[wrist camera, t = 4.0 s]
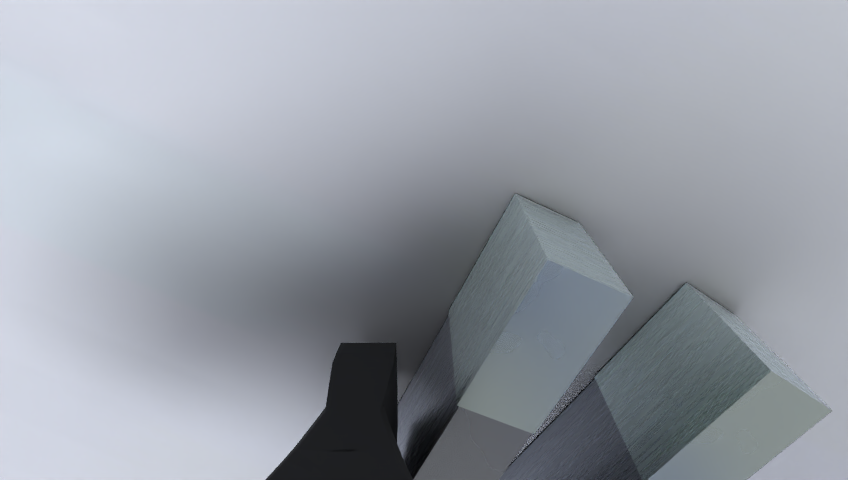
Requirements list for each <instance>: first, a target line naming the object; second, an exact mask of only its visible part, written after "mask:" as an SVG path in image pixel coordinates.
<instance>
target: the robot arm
mask: <svg viewBox="0 0 848 480" xmlns="http://www.w3.org/2000/svg"><path fill="white" fill-rule="evenodd" d="M397 432H398V401H397V357H396V343H341V344H340V347H339V349H338V351H337V353H336V356H335V358H334V361H333V364H332V370H331V376H330V383H329V389H328V396H327V403H326V407H325V409H324V410H323V412H322V413H321V414H320V416H319V417H318V418H317V420H316V421H315V422H314V423H313V425H312V426H311V427H310V429H309V430H308V431H307V432H306V434H305V435H304V436H303V437H302V439H301V440H300V441H299V443H298V444H297V445H296V446H295V447H294V449H293V450H292V451H291V452H290V453H289V454H288V456H287V457H286V458H285V459H284V460H283V461H282V462H281V463H280V465H279V466H278V467H277V468H276V469H275V470H274V471H273V472H272V473H271V474H270V475H269V476H268V478H267V479H266V480H413V478H412V476H411V474H410V472H409V470H408V468H407V466H406V464H405V461H404V459H403V457H402V455H401V452H400V450H399V447H398V445H397Z"/></svg>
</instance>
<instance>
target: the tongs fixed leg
mask: <svg viewBox="0 0 848 480" xmlns="http://www.w3.org/2000/svg"><path fill="white" fill-rule="evenodd" d="M594 378H595V379H594V380H593V381H592V382H591V383H590V384H589V385H588V386H587V387H586V388H585V390H584V391H583V392H582V393H581V394H580V395H579V396H578V397H577V398H576V399H575V400H574V401H573V402H572V403H571V404H570V405H569V406H568V407H567V408H566V409H565V410H564V411H563V412H562V413H561V414H560V415H559V416H558V417H557V418H556V419H555V420H554V421H553V422H552V423H551V424H550V425H549V426H548V427H547V428H546V429H545V430H544V431H543V432H542V433H541V435H540V436H539V437H538V438H537V439H536V440H535V441H534V442H533V443H532V444H531V445H530V446H529V447H528V448H527V449H526V450H525V451H524V452H523V453H522V454H521V455H520V456H519V457H518V458H517V459H516V460H515V461H514V462H513V463H512V464H511V465H510V466H509V467H508V468H507V469H506V470H505V472H504V473H503V475H502V476H501V477H500V479H499V480H747V479H748V478H749V477H751V476H752V475H753V474H754V473H756V472H757V471H758V470H759V469H761V468H762V467H763V466H764V465H766V464H767V463H768V462H769V461H771V460H772V459H773V458H774V457H776V456H777V455H778V454H779V453H780V452H782V451H783V450H784V449H785V448H787V447H788V446H789V445H790V444H792V443H793V442H794V441H795V440H797V439H798V438H799V437H800V436H802V435H803V434H804V433H805V432H807V431H808V430H809V429H810V428H812V427H813V426H814V425H815V424H816V423H818V422H819V421H820V420H821V419H823V418H824V417H825V416H826V415H828V414H829V413H830V412H831V411H832V410H831V409H830V408H829V407H828V406H827V405H826V404H825V403H824V402H823V401H822V400H821V399H820V398H819V397H818V396H817V395H816V394H815V393H814V392H813V391H812V390H811V389H810V388H809V387H808V386H807V385H806V384H805V383H804V382H803V381H802V380H801V379H800V378H799V377H798V376H797V375H796V374H795V373H794V372H793V371H792V370H791V369H790V368H789V367H788V366H787V365H786V364H785V363H784V362H783V361H782V360H781V359H779V358H778V357H777V356H776V355H775V354H774V353H773V352H772V351H771V350H770V349H769V348H768V347H767V346H766V345H765V344H764V343H763V342H762V341H761V340H760V339H759V338H758V337H757V336H756V335H755V334H754V333H753V332H752V331H751V330H750V329H749V328H748V327H747V326H746V325H745V324H744V323H743V322H742V321H741V320H740V319H739V318H738V317H737V316H736V315H734V314H733V313H731V312H730V311H728V310H727V309H725V308H724V307H722V306H721V305H719V304H718V303H716V302H715V301H713V300H712V299H710V298H709V297H707V296H706V295H704V294H703V293H701V292H700V291H699V290H697V289H696V288H694V287H693V286H691V285H690V284H688V283H687V282H686V283H685V284H684V285H683V286H682V287H681V288H680V290H679V291H678V292H677V293H676V294H675V295H674V296H673V297H672V298H671V299H670V300H669V301H668V302H667V303H666V304H665V305H664V306H663V307H662V308H661V309H660V310H659V311H658V312H657V313H656V314H655V315H654V316H653V317H652V318H651V319H650V320H649V321H648V322H647V323H646V324H645V325H644V326H643V327H642V328H641V329H640V331H639V332H638V333H637V334H636V335H635V336H634V337H633V338H632V339H631V340H630V341H629V342H628V343H627V344H626V345H625V346H624V347H623V348H622V349H621V350H620V351H619V352H618V353H617V354H616V355H615V356H614V357H613V358H612V359H611V360H610V361H609V362H608V363H607V364H606V365H605V366H604V367H603V368H602V369H601V371H600V372H599V373H598V374H597V375H596V376H595V377H594Z"/></svg>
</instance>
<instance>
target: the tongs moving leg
mask: <svg viewBox="0 0 848 480" xmlns="http://www.w3.org/2000/svg"><path fill="white" fill-rule="evenodd" d="M632 299H633V296H632V294H631V293H630V292H629V290H628V289H627V287H626V286H625V285H624V283H623V282H622V281H621V279H620V278H619V276H618V275H617V274H616V272H615V271H614V270H613V268H612V267H611V265H610V264H609V263H608V261H607V260H606V259H605V257H604V256H603V254H602V253H601V252H600V250H599V249H598V248H597V246H596V245H595V244H594V242H593V241H592V239H591V238H590V237H589V235H588V234H587V233H586V231H585V230H584V228H583V227H582V226H581V224H580V223H578V222H576V221H574V220H572V219H570V218H568V217H565V216H563V215H561V214H559V213H557V212H554V211H552V210H550V209H548V208H546V207H544V206H541V205H539V204H537V203H535V202H533V201H531V200H528V199H526V198H524V197H522V196H520V195H517V194H514V196H513V198H512V200H511V202H510V203H509V205H508V207H507V209H506V210H505V212H504V214H503V216H502V217H501V219H500V221H499V223H498V225H497V226H496V228H495V230H494V232H493V233H492V235H491V237H490V239H489V240H488V242H487V244H486V246H485V248H484V249H483V251H482V253H481V255H480V256H479V258H478V260H477V262H476V263H475V265H474V267H473V269H472V271H471V272H470V274H469V276H468V278H467V279H466V281H465V283H464V285H463V286H462V288H461V290H460V292H459V293H458V295H457V297H456V299H455V301H454V302H453V304H452V306H451V308H450V309H449V316H448V317H447V319H446V321H445V323H444V324H443V326H442V328H441V330H440V331H439V333H438V335H437V337H436V338H435V340H434V342H433V344H432V346H431V347H430V349H429V351H428V353H427V354H426V356H425V358H424V360H423V361H422V363H421V365H420V367H419V368H418V370H417V372H416V374H415V375H414V377H413V379H412V381H411V383H410V384H409V386H408V388H407V390H406V391H405V393H404V395H403V397H402V398H401V400H400V402H399V404H398V432H397V445H398V447H399V450H400V452H401V455H402V457H403V459H404V461H405V464H406V466H407V468H408V470H409V472H410V474H411V476H412V478H413V480H499V479H500V477H501V476H502V475H503V473H504V472H505V470H506V469H507V468H508V466H509V465H510V463H511V462H512V461H513V459H514V458H515V456H516V455H517V454H518V452H519V451H520V449H521V448H522V447H523V445H524V444H525V443H526V441H527V440H528V438H529V437H530V436H531V434H535V433H536V432H537V430H538V429H539V428H540V426H541V425H542V423H543V422H544V421H545V419H546V418H547V416H548V415H549V414H550V412H551V411H552V410H553V408H554V407H555V405H556V404H557V403H558V401H559V400H560V398H561V397H562V396H563V394H564V393H565V392H566V390H567V389H568V387H569V386H570V385H571V383H572V382H573V380H574V379H575V378H576V376H577V375H578V374H579V372H580V371H581V369H582V368H583V367H584V365H585V364H586V362H587V361H588V360H589V358H590V357H591V356H592V354H593V353H594V351H595V350H596V349H597V347H598V346H599V344H600V343H601V342H602V340H603V339H604V338H605V336H606V335H607V333H608V332H609V331H610V329H611V328H612V326H613V325H614V324H615V322H616V321H617V320H618V318H619V317H620V315H621V314H622V313H623V311H624V310H625V308H626V307H627V306H628V304H629V303H630V302H631V300H632Z"/></svg>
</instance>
